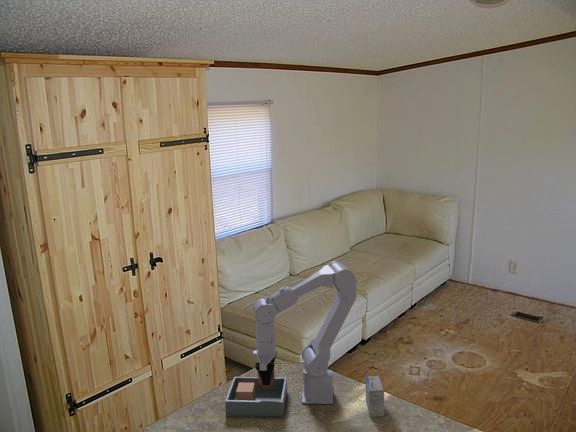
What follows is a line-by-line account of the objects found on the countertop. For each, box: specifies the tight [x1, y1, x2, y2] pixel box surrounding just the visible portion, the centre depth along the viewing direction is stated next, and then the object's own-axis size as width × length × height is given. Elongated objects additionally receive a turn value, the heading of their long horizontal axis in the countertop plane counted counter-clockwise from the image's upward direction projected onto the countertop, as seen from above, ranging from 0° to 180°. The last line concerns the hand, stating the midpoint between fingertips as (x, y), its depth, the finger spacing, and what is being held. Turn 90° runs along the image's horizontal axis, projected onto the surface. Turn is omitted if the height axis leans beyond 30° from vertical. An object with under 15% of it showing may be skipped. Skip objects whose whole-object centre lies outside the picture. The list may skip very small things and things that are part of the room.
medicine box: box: [365, 375, 385, 418], centre depth 137 cm, size 8×4×9 cm, turn 179°
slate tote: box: [224, 376, 288, 419], centre depth 142 cm, size 17×13×5 cm
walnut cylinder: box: [257, 361, 275, 390], centre depth 141 cm, size 5×5×7 cm
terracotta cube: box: [236, 382, 255, 401], centre depth 143 cm, size 5×5×5 cm
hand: (267, 379), depth 141 cm, fingers closed on walnut cylinder, 5 cm apart
